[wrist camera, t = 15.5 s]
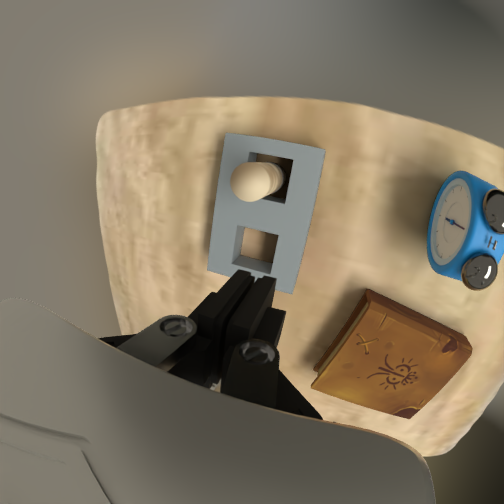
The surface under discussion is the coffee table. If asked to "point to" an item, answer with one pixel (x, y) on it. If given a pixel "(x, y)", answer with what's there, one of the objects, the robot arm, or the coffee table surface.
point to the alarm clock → (467, 230)
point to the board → (265, 210)
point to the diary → (390, 358)
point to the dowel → (256, 180)
